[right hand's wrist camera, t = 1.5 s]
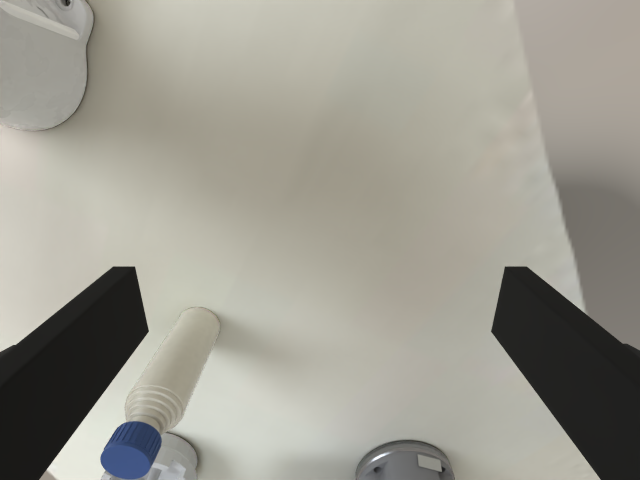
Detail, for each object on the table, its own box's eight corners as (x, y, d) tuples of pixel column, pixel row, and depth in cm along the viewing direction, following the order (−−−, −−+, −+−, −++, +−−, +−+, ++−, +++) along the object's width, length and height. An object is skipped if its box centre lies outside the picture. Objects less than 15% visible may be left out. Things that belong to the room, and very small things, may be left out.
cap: (109, 421, 30) (93, 446, 28) (156, 419, 30) (144, 443, 28) (122, 454, 32) (107, 481, 30) (167, 453, 32) (155, 479, 30)
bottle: (174, 308, 46) (84, 435, 28) (216, 306, 45) (153, 432, 28) (182, 343, 48) (103, 482, 30) (223, 341, 47) (168, 480, 30)
